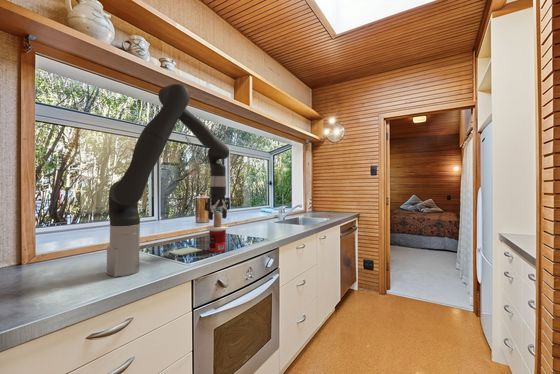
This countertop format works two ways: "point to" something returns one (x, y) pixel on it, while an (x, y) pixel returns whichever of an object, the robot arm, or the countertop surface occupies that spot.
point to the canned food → (217, 240)
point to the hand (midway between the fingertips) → (217, 219)
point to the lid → (217, 223)
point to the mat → (184, 251)
